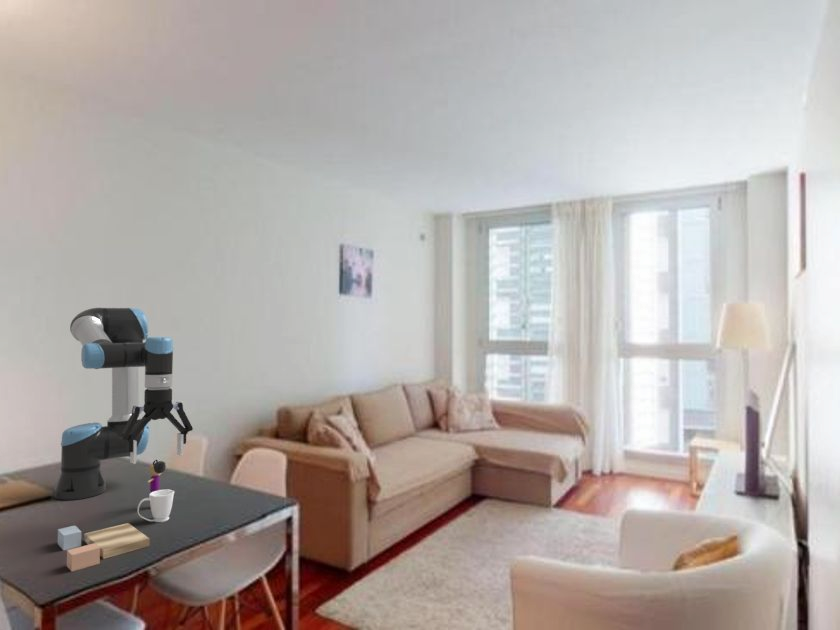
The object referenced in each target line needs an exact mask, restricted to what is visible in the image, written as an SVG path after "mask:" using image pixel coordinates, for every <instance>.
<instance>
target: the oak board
mask: <svg viewBox="0 0 840 630" xmlns="http://www.w3.org/2000/svg"><path fill="white" fill-rule="evenodd" d="M83 536H84V537H83V541H84V542H85V543H86V545H89V544H93V543H95V544H96V545H97V546H99V547H100V557H101V558H102V559H103V560H105V559H108V558H109V559H110V558H112V557H115V556H120V555H123V554H126V553H130V552H133V551H137V550H140V549H144V548H148V547H150V543H151V541H150V540H151V539H150V537H148V535H146V534H144V533H143V532H141V531H140V530H138V529H137V528H136V527H134V526H133V525H132V524H130V523H129V522H126V523H123V524H119V525H115V526H110V527H106V528H101V529H98V530H94V531H93V530H92V531H90V532H86V533H84V534H83Z"/></svg>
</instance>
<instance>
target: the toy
mask: <svg viewBox="0 0 840 630" xmlns="http://www.w3.org/2000/svg"><path fill="white" fill-rule="evenodd" d="M166 467H167V466H166V462H165V461H161V460H159V461H158V459H155V460H153V462H152V464H151V465H150V466H149V467H148V473H149V474H150V475H151V477H150V479H148V480H147V483H148V484H149V483H150V485H149V487H150V488H149V490H150V493H151V492H154V491H158V490H160V475H162V473H164V472H165V471H166ZM148 507H149V508H150V509H151V505H149V506H148Z"/></svg>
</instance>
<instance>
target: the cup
mask: <svg viewBox="0 0 840 630" xmlns="http://www.w3.org/2000/svg"><path fill="white" fill-rule="evenodd" d="M174 495H175V490H172V489H159V490H158V491H154V492H151V491H150V493H149V495H148V497H145V498H143V499H141V500H140V501H139V503H138V505H137V510H136V511H137V514H138V516H139V517H140V518H142V519H144V520H146V521H148V522H151V523H152V522H155V523H163V522H167V521H168V520H169V519H170V515H171V511H172V509H173V503H174V497H175V496H174ZM144 501H149V506H151V508H150V512H151V514H152V518H153V519H149V518H147V517H145V516H143V515H142V514H140V512H139V511H140V508H141V507H140V506H141V504H142V503H144Z"/></svg>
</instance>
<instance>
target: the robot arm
mask: <svg viewBox="0 0 840 630" xmlns="http://www.w3.org/2000/svg"><path fill="white" fill-rule="evenodd" d="M69 329H70V334H71V335H72V337H73V338H74V339H75V340H76V341H78V342H80V344H81V345H82V348H81V353H80V354H81V357H80V358H81V365H82V367H83V368H84V369H89V370H90V369H94V370H99V369H111V413H112V414H111V416H110V417H109V418H108V420H106V422H107V425H105V426H103V425H102V424H101V423H100V422H89V423H82V424H77V425H74V426H71V427H69V428H67V429H65V430H64V431H63V432H62V434H61V441H60V442H61V443H60V446H61V450H60V451H61V452H60V453H61V456H60V457H61V458H60V474H59V478H58V480H57V483H56V484H55V488H54V489H53V490H54V493H53V495H54V496H53V497H54V498H55V499H56V500H64V501H65V500H66V501H67V500H68V501H70V500H81V499H82V500H83V499H87V498H92V497H95V496H99V495H101V494H102V493H104V492H106V490H107V487H106V486H107V485H106V480H105V477H104V475H103V472H102V469H101V461H104V460H105V461H106V460H112V459H113V460H114V459H119V458H127V457H128V458H129V463H131V464H133V465H135V464H137V456H139V455H140V456H141V455H142V454H143V453H145V451H146V449H147V446H148V443H149V438H150V426H149V423H150V421H152V420H153V421H157V420H165V419H167V420H168V421H169V422H170V423H171V424H172V425H173V426H174V428H175V429H177V431H178V432H179V433H177V434H176V435H177V439H176V440H177V441H176V444H177V445H176V454H177V456H180V457H182V456H184V445H186V443H187V435H188V433H189V432H193V429H194V428H193V426H192V423H191V422H190V420H189V418H188V416H187V414H186V412H185V411H184V405H183V403H182V402H180V401H175V403H173V401H172V400H173V389H172V387H173V362H174V358H173V357H174V356H173V355H174V342H173V338H171V337H170V336H151V337H149V324H148V319H147V317H146V314H145V312H144V311H143V310H142V309H140V308H131V307H125V308H124V307H119V308H117V307H92V308H88V309H86V310H83V311H81V312H79V313H78V314H77V315H76V316H75V317H74V318H73V319H72V321H71V323H70V326H69ZM143 341H144V342H143ZM139 368H144V388H145V390H144V400H143V401H144V402H143V403H144V404H143V405H142V406H140V405H139V404H140V401H139V400H140V399H139V398H140V397H139V395H140V394H139V393H140V392H139V385H140V384H139V381H140V380H139V379H140V377H139ZM173 409H174V410H175V411H176V412H177V414H178V417H179V419H180V420H181V422H182V423H180V422H179V421H178V419H176V417H175V416H174V414H172V413H171V411H172V410H173ZM142 412H144V415H143V416H142V415H141V414H142ZM182 424H183V425H182Z"/></svg>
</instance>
